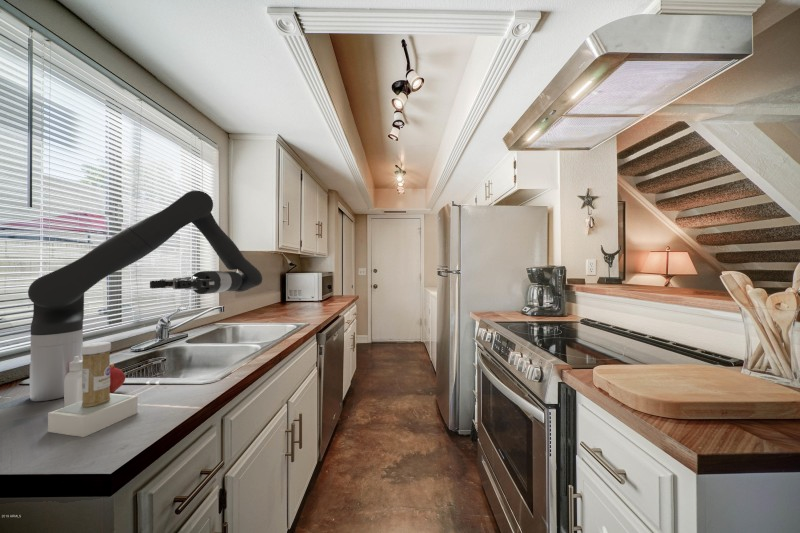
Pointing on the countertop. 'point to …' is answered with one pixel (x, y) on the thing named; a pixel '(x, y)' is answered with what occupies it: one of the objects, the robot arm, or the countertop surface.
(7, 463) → the countertop surface
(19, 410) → the countertop surface
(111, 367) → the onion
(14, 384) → the countertop surface
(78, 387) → the eye dropper bottle
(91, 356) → the sprinkles bottle
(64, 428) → the block
